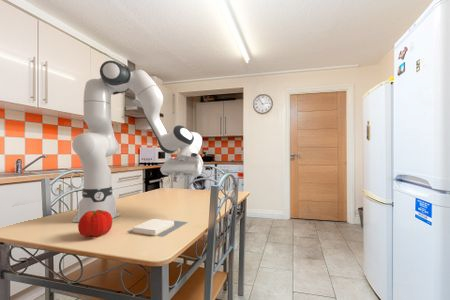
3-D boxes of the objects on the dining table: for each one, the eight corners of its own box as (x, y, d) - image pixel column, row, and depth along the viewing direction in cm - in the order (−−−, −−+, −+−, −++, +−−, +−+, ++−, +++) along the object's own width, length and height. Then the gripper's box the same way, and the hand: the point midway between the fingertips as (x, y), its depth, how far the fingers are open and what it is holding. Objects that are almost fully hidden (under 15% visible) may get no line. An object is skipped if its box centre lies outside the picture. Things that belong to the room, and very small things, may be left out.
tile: (153, 218, 96) (132, 227, 85) (174, 220, 93) (155, 230, 81) (153, 223, 96) (132, 232, 85) (174, 225, 92) (155, 235, 81)
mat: (156, 219, 103) (156, 218, 103) (188, 223, 97) (188, 222, 97) (126, 232, 86) (126, 231, 86) (162, 238, 80) (162, 236, 80)
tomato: (76, 234, 84) (77, 210, 85) (109, 228, 91) (109, 206, 91) (79, 243, 76) (79, 217, 76) (115, 236, 82) (115, 212, 83)
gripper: (165, 154, 113) (152, 176, 104) (202, 154, 106) (192, 177, 97) (170, 163, 117) (158, 184, 108) (206, 163, 110) (197, 186, 101)
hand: (174, 181), depth 102 cm, fingers closed
